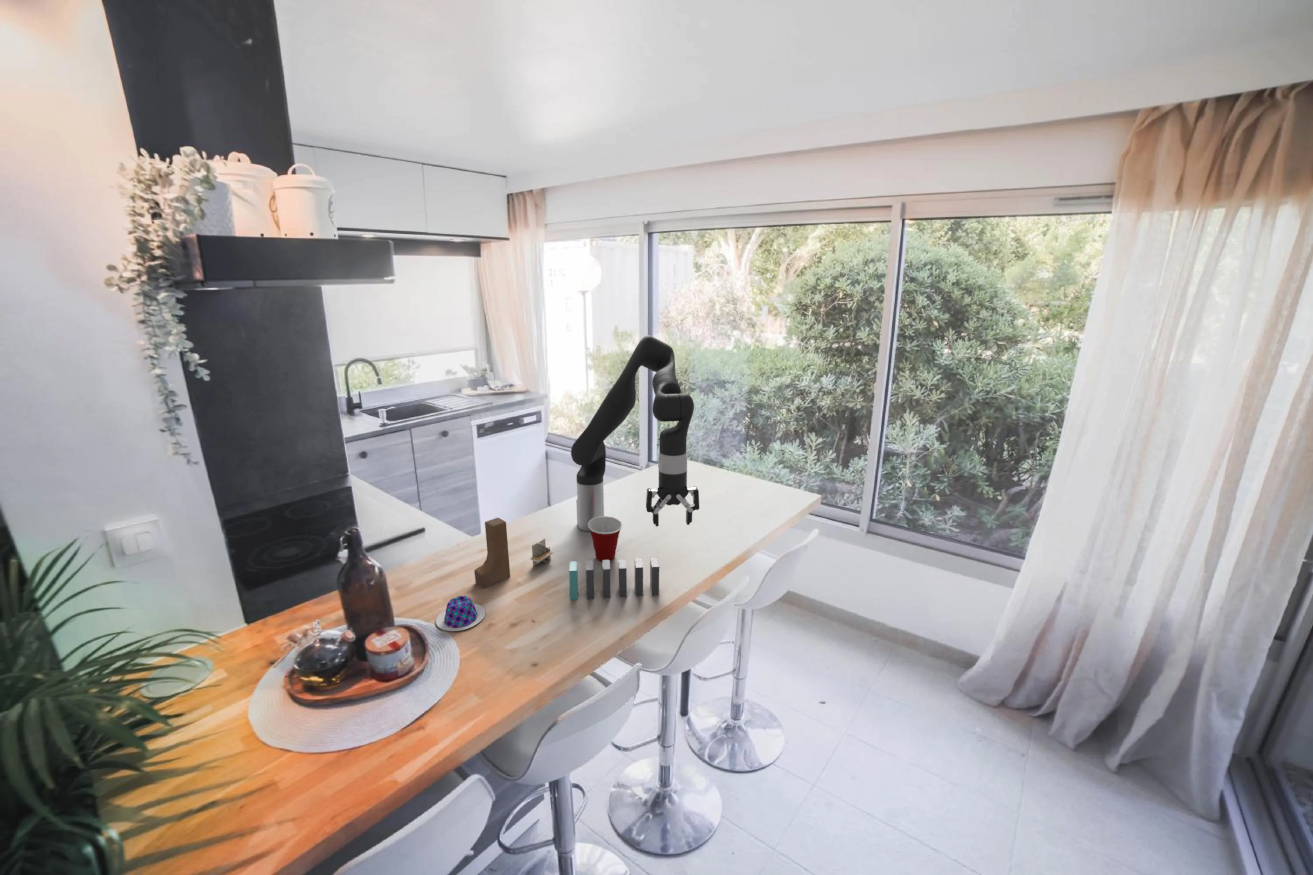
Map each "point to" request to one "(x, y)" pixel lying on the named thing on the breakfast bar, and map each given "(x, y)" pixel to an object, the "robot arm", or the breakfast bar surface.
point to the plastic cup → (605, 536)
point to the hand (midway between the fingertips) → (672, 524)
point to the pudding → (460, 614)
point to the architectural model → (540, 552)
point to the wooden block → (494, 555)
